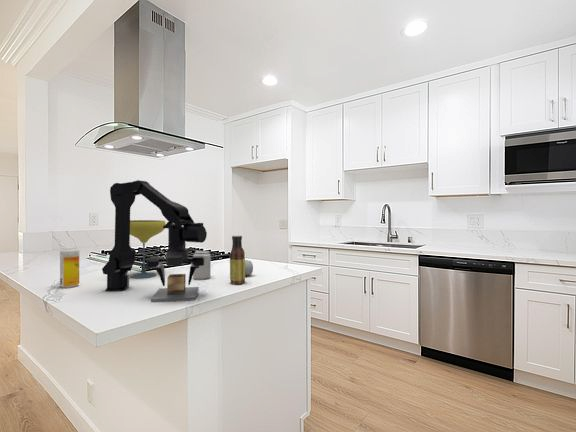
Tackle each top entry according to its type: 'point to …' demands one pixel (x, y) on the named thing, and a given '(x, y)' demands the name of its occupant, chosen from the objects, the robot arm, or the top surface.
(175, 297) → the pin board
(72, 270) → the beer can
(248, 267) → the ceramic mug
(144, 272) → the cocktail glass
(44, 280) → the top surface
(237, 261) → the sauce bottle
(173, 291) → the oak sleeve
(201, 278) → the can
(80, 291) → the top surface
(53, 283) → the top surface
